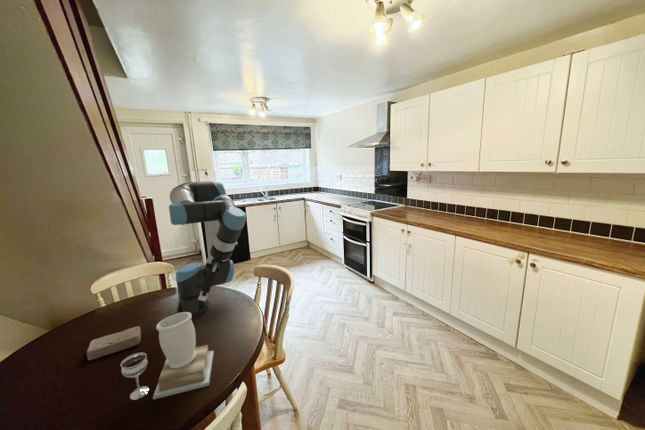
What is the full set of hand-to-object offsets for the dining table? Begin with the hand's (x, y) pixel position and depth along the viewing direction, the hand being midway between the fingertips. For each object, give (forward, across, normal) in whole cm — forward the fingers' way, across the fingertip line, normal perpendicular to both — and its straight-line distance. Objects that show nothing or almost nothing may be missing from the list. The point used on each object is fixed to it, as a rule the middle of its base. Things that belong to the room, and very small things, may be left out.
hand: (207, 286), depth 101 cm
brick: (+39, -6, +24) cm, 46 cm away
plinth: (+18, -23, -5) cm, 30 cm away
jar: (+14, -22, -2) cm, 26 cm away
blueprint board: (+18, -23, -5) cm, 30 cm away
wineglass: (+22, -29, +7) cm, 37 cm away
